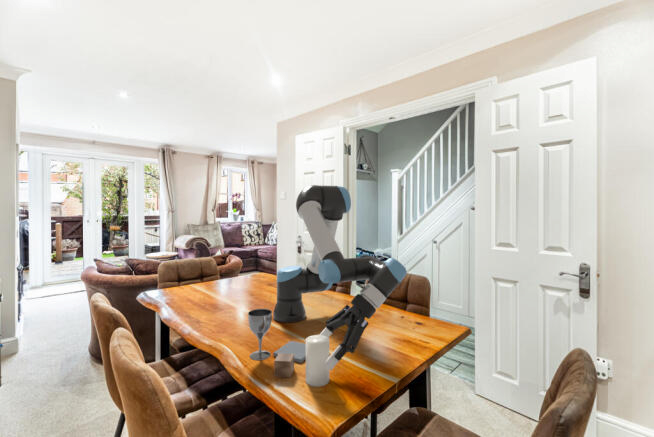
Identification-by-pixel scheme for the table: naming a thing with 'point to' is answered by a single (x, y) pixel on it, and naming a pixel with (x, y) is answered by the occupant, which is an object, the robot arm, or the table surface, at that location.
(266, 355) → the wine glass
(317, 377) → the white pillar candle
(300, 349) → the coaster
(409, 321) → the table surface
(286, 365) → the walnut block
